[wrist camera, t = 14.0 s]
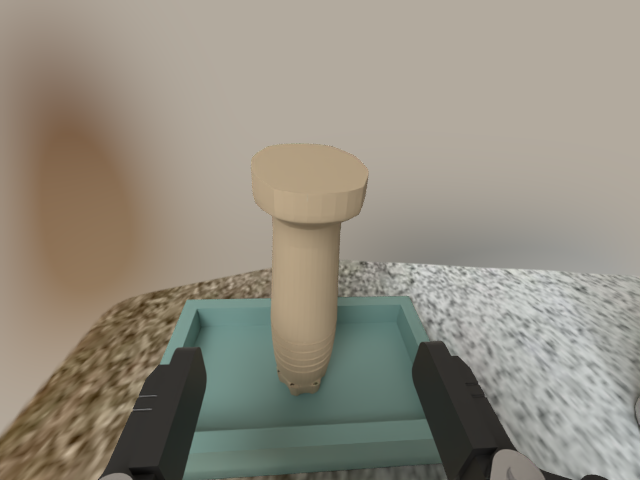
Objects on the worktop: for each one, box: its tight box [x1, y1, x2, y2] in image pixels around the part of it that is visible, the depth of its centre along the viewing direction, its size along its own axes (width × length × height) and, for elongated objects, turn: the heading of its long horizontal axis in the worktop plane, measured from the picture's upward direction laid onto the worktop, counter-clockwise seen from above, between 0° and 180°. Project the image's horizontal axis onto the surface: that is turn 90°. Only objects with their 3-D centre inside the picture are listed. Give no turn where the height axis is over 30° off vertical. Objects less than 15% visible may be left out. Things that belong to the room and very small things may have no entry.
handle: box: [251, 143, 368, 396], centre depth 17 cm, size 5×6×15 cm
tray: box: [160, 296, 442, 480], centre depth 21 cm, size 18×11×3 cm, turn 94°
